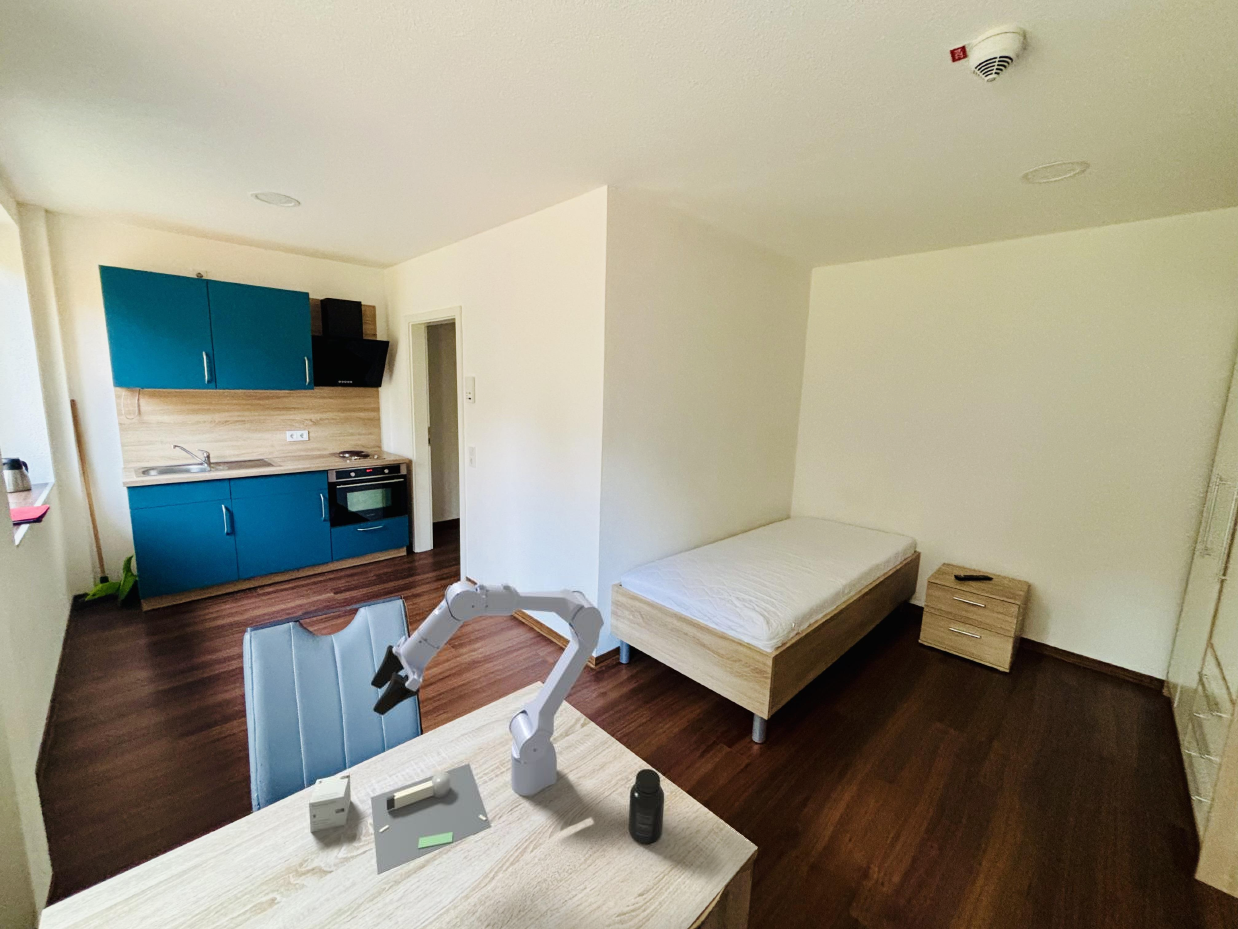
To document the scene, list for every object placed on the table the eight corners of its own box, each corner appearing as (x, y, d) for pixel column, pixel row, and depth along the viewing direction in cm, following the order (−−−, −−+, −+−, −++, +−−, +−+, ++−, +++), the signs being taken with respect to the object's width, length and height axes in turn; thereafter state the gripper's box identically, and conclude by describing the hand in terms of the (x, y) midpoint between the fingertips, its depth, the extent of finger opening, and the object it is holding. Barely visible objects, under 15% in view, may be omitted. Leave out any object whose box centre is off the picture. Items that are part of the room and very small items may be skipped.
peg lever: (448, 782, 106) (448, 769, 105) (451, 794, 103) (451, 782, 102) (386, 804, 100) (385, 791, 99) (387, 818, 97) (387, 805, 96)
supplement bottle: (669, 831, 98) (672, 778, 96) (647, 854, 93) (650, 799, 91) (643, 809, 102) (646, 759, 100) (620, 830, 97) (623, 777, 95)
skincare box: (310, 837, 93) (307, 803, 92) (318, 810, 99) (316, 778, 98) (346, 829, 95) (344, 796, 94) (352, 803, 101) (350, 772, 99)
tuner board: (469, 767, 111) (469, 762, 111) (491, 831, 96) (491, 825, 96) (371, 801, 101) (370, 796, 101) (377, 879, 86) (377, 873, 86)
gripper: (407, 610, 96) (356, 666, 93) (417, 649, 83) (359, 716, 81) (435, 626, 99) (387, 682, 97) (449, 667, 87) (394, 731, 84)
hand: (376, 698), depth 89 cm, fingers open, 7 cm apart
